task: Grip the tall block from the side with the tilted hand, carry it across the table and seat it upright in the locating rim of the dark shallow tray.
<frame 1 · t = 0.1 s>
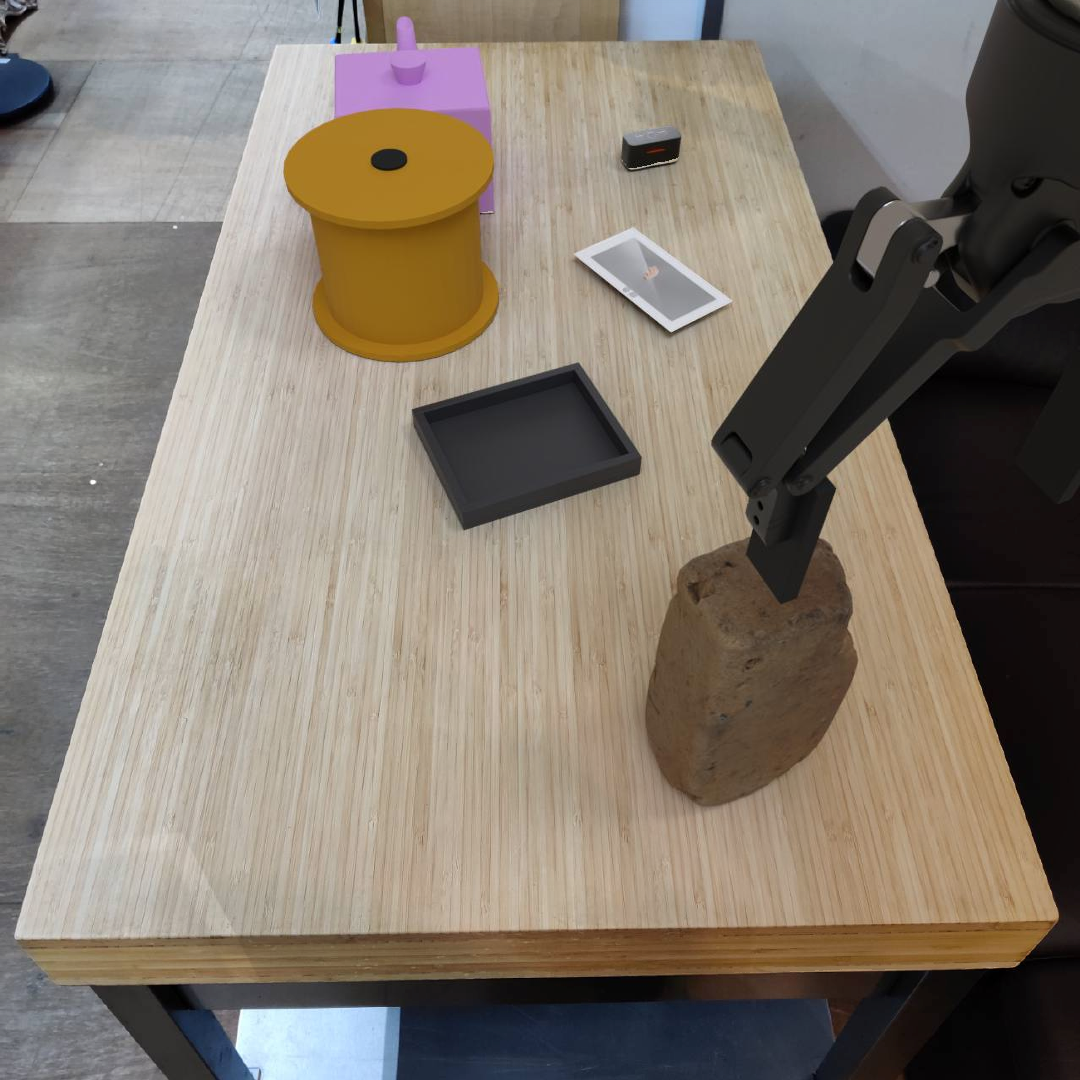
hand: (911, 527, 41), 29 cm above the table, tool pointing down, fingers open, 13 cm apart
dark grey bluetooth speaker: (652, 159, 112), on the table
dark shallow tray: (524, 449, 83), on the table
block: (726, 750, 66), on the table
spool: (407, 302, 96), on the table
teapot: (419, 180, 109), on the table
touchpad: (649, 287, 98), on the table
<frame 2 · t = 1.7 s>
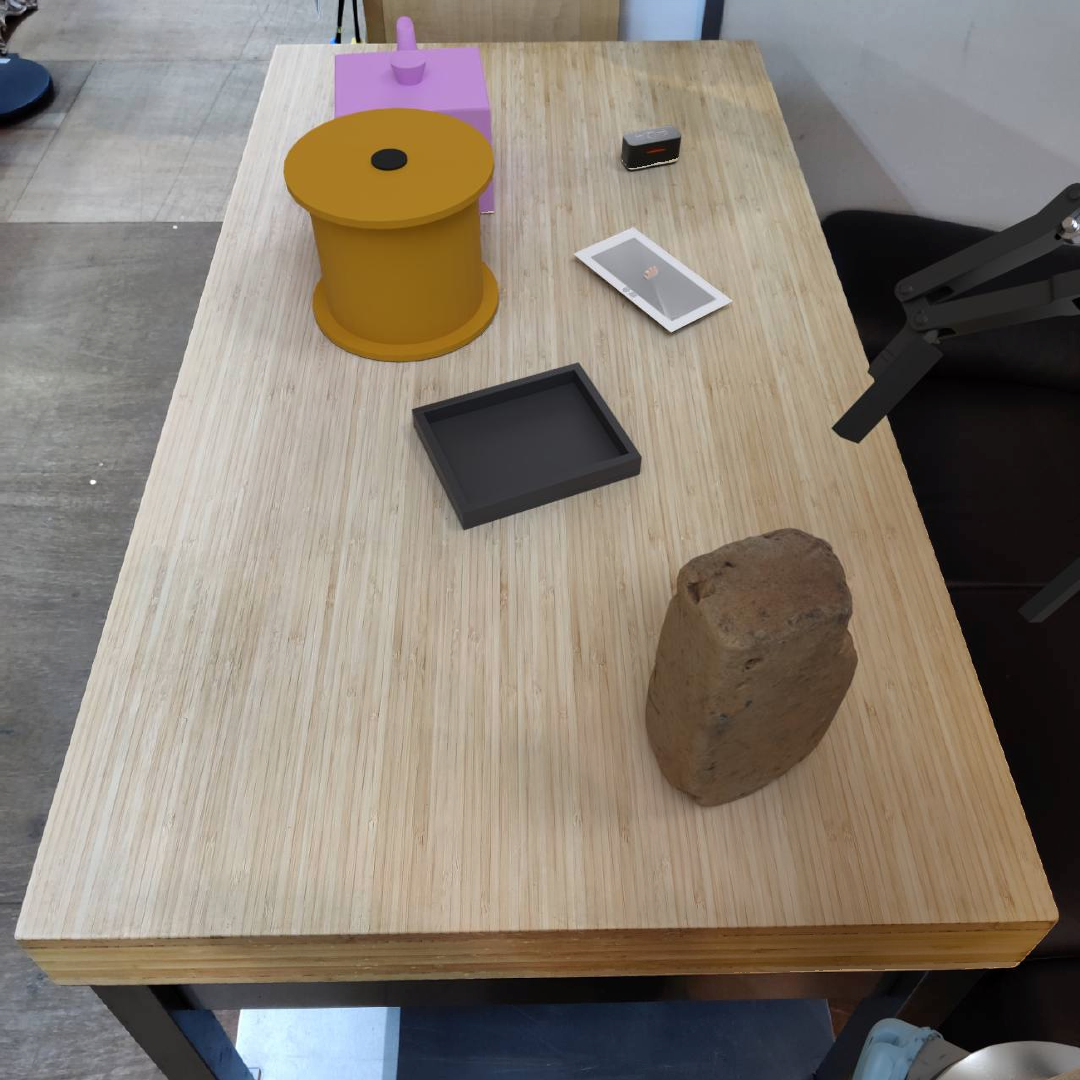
hand: (930, 521, 52), 21 cm above the table, tool tilted 40°, fingers open, 13 cm apart
nothing on the table moved.
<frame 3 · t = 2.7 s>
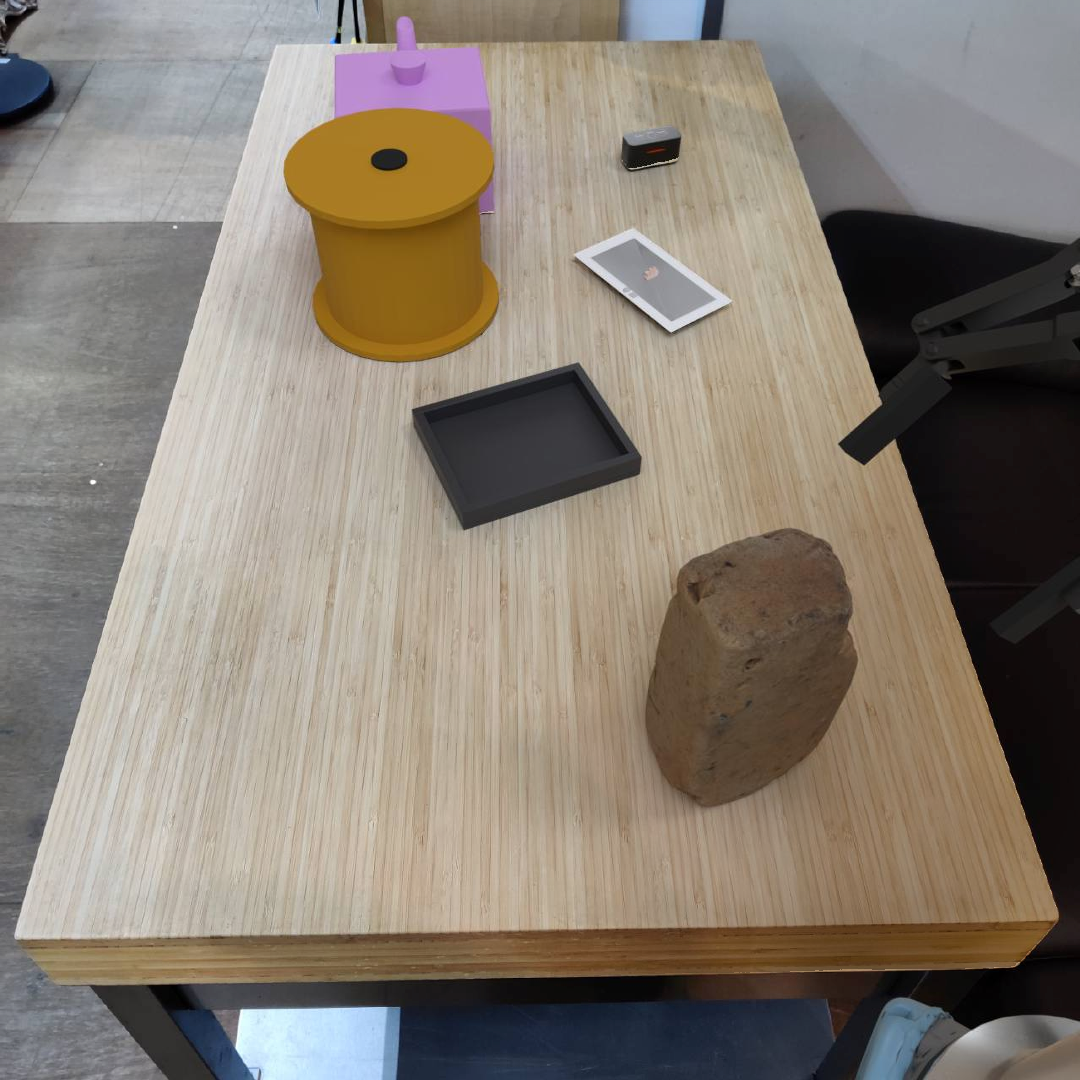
hand: (920, 538, 54), 18 cm above the table, tool tilted 45°, fingers open, 13 cm apart
nothing on the table moved.
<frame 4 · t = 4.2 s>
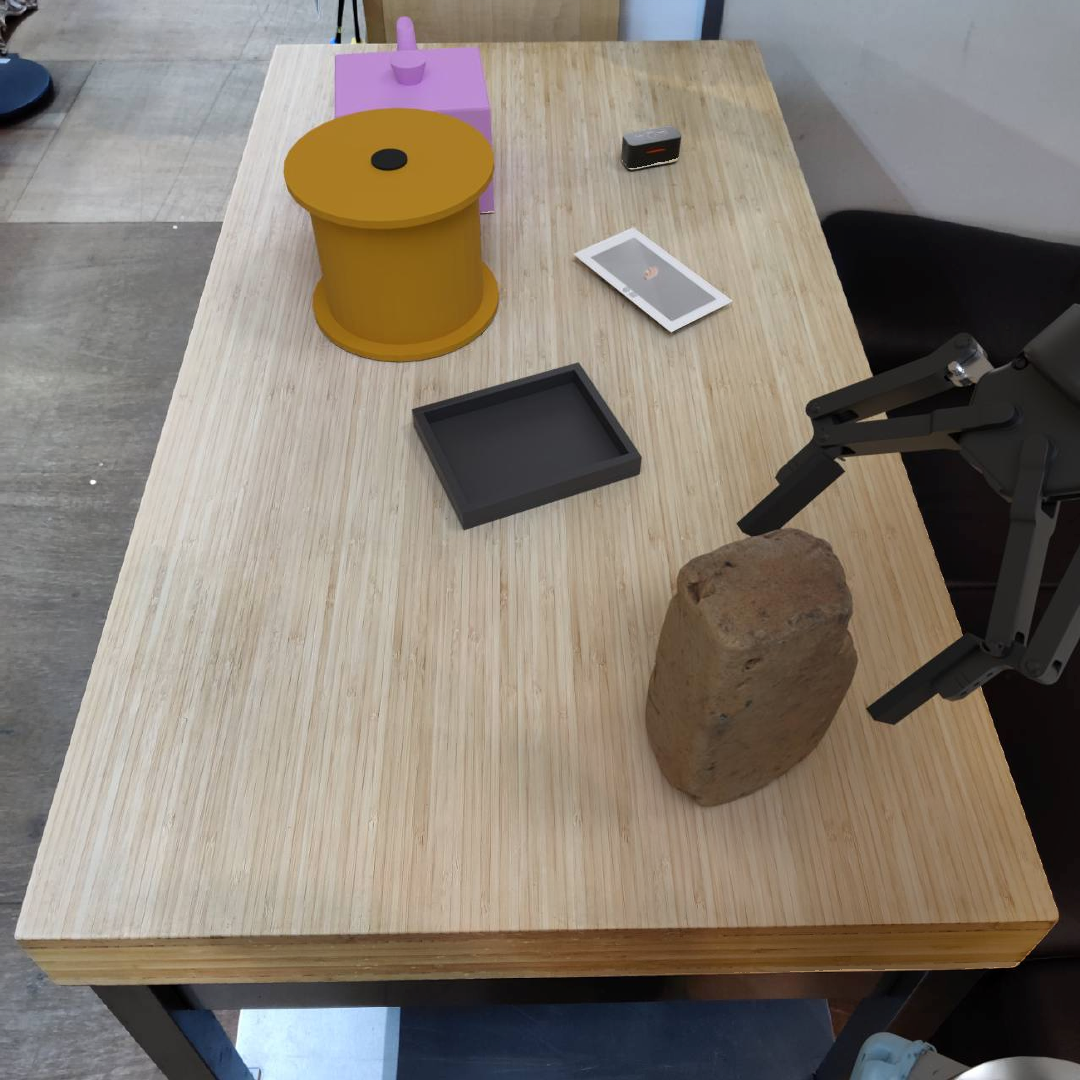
hand: (810, 619, 56), 14 cm above the table, tool tilted 45°, fingers open, 13 cm apart
nothing on the table moved.
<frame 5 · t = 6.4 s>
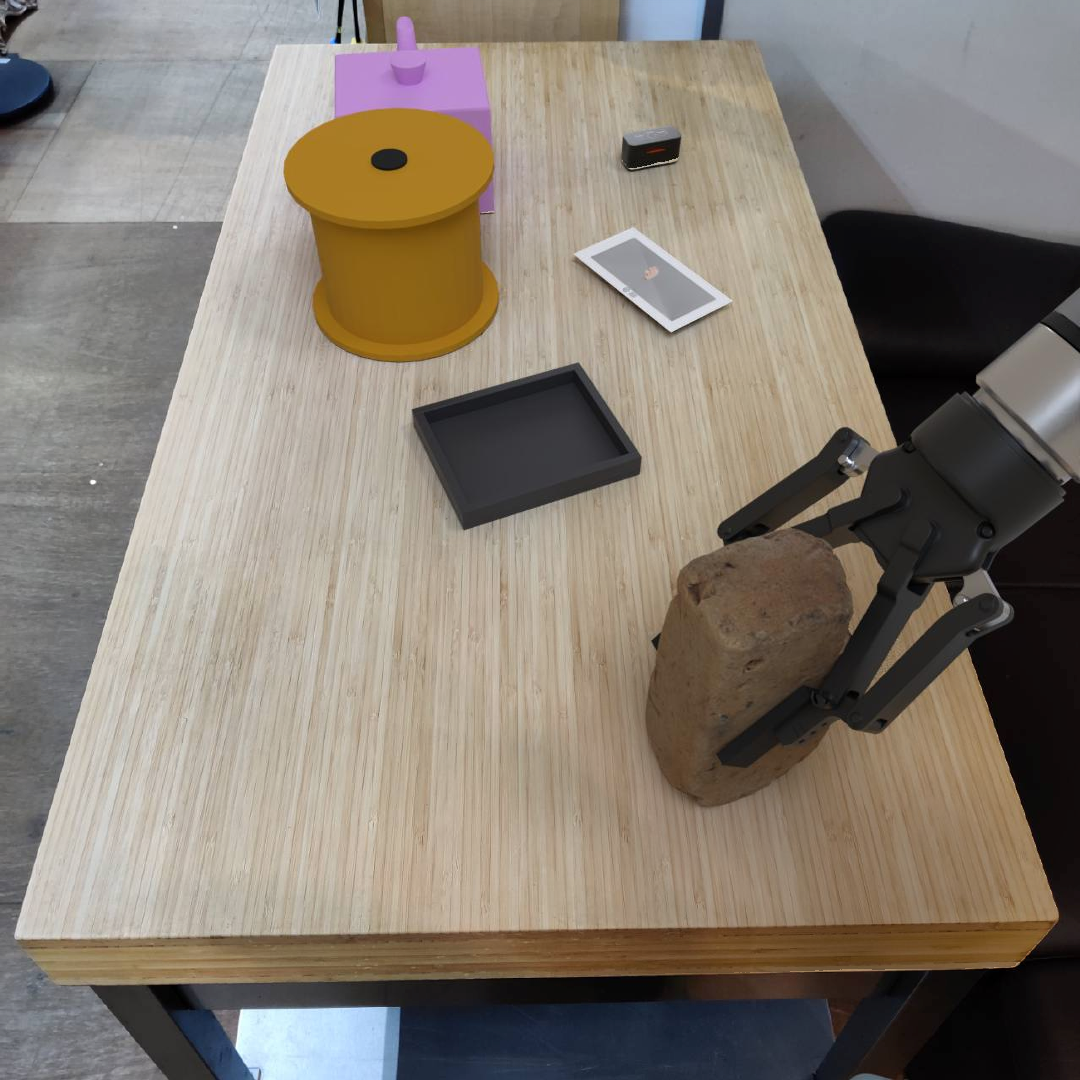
hand: (697, 702, 59), 9 cm above the table, tool tilted 45°, fingers closed on block, 7 cm apart
block: (726, 751, 66), on the table, touching gripper
everything else where it was.
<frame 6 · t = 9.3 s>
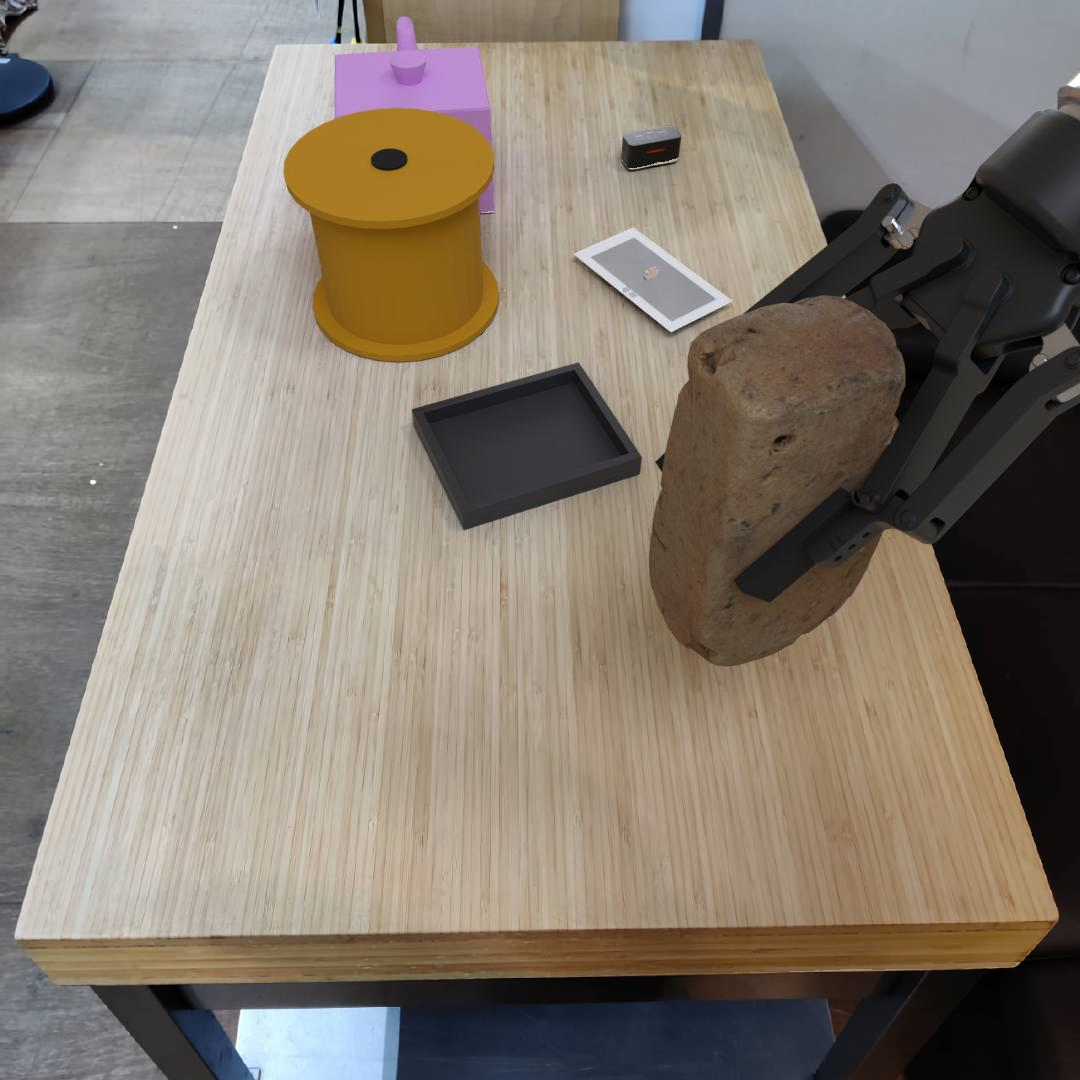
hand: (711, 529, 49), 22 cm above the table, tool tilted 45°, fingers closed on block, 7 cm apart
block: (743, 610, 57), point 14 cm above the table, touching gripper
everything else where it was.
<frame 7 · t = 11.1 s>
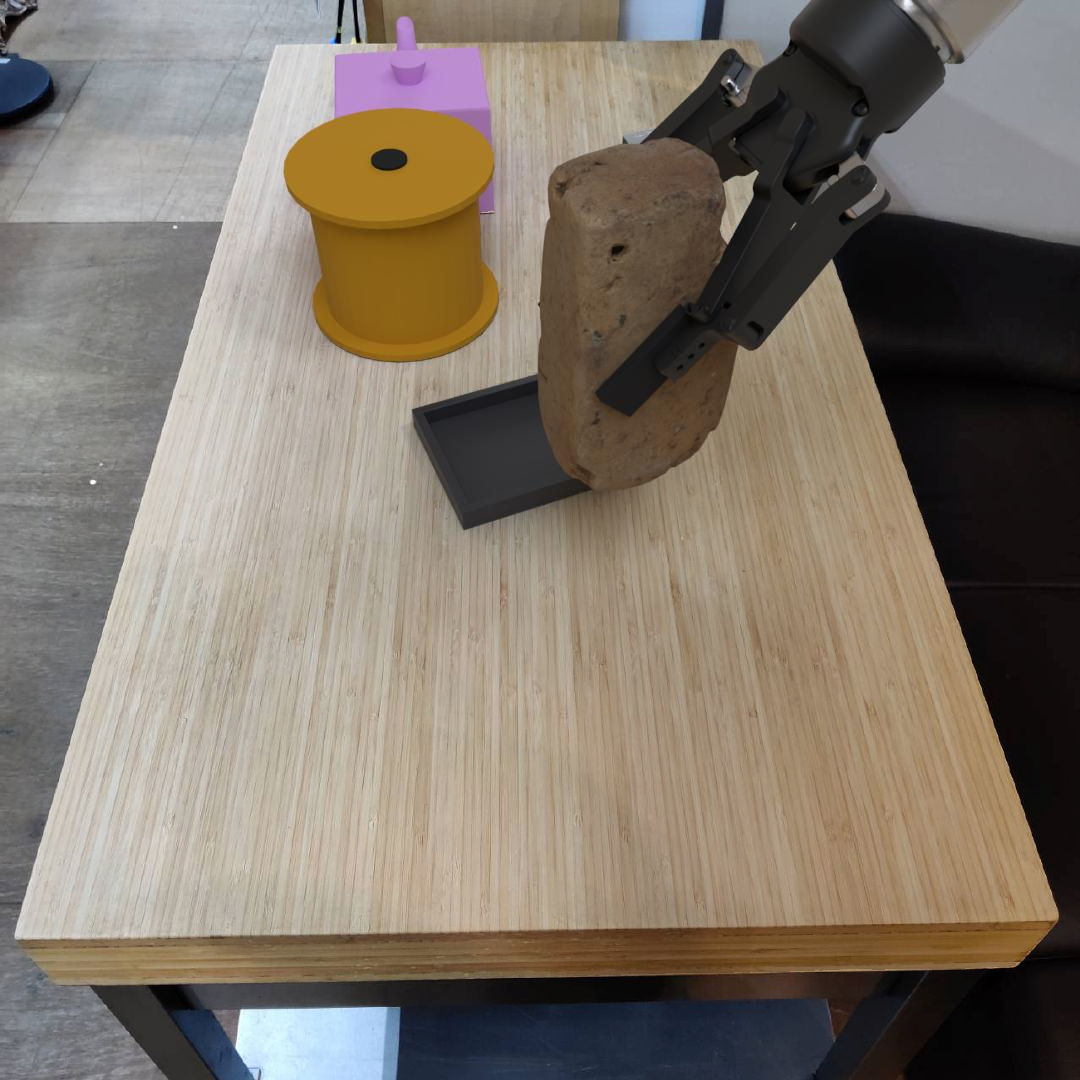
hand: (582, 358, 56), 23 cm above the table, tool tilted 45°, fingers closed on block, 7 cm apart
block: (627, 449, 64), point 14 cm above the table, touching gripper
everything else where it was.
when the fingers open (9 cm above the table, at t = 17.0 s): block stays where it is, resting on dark shallow tray.
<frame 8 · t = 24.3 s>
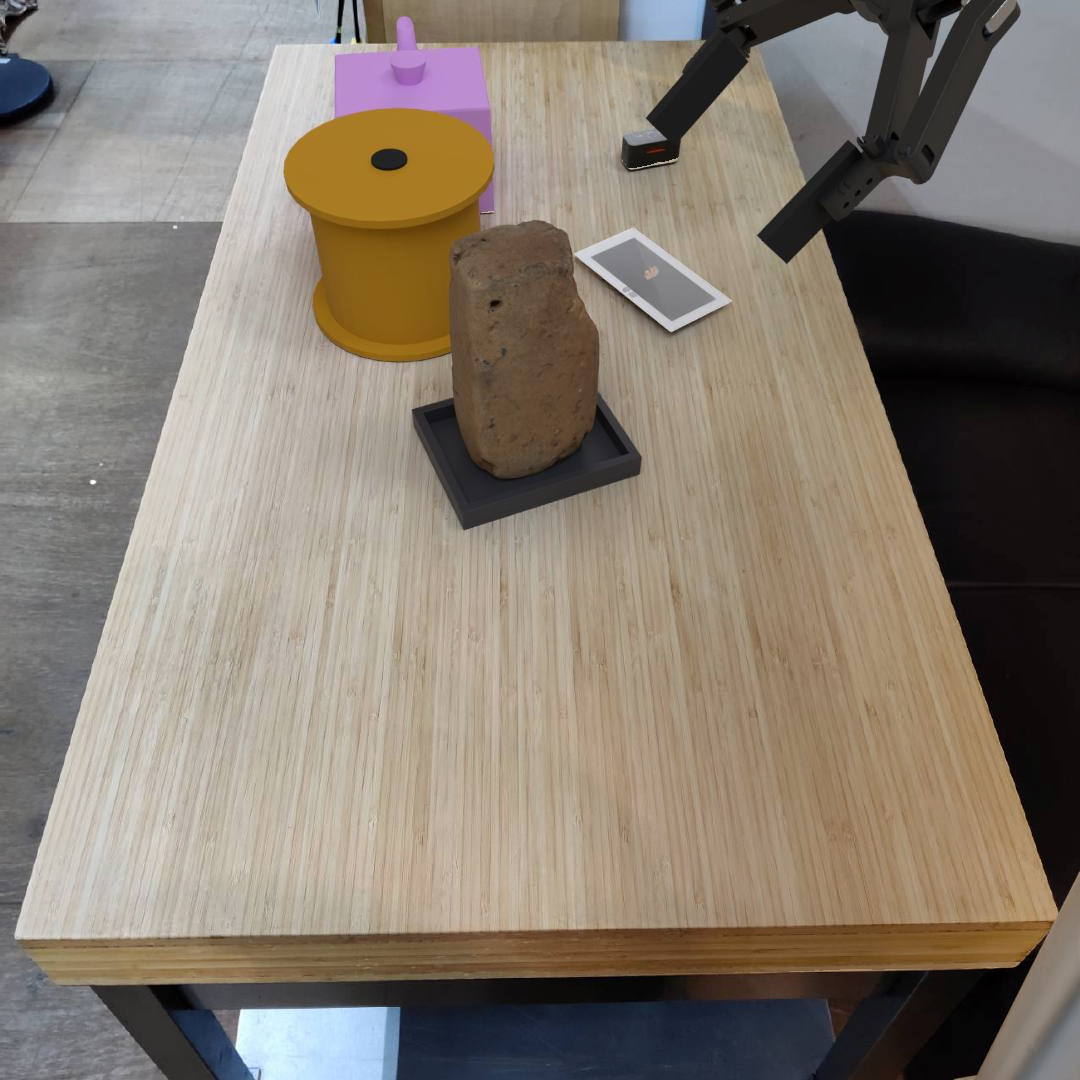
hand: (711, 187, 59), 28 cm above the table, tool tilted 45°, fingers open, 13 cm apart
block: (526, 447, 83), resting on dark shallow tray
everything else where it was.
at the end: block 0.1 cm off-centre in the dark shallow tray, point 0.4 cm above the dark shallow tray's base; block tilted 0°; the gripper is holding nothing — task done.
